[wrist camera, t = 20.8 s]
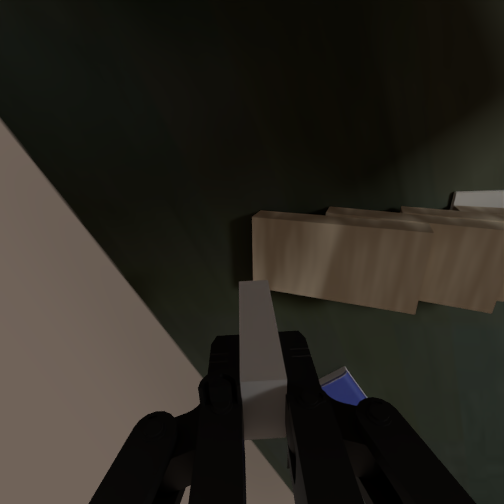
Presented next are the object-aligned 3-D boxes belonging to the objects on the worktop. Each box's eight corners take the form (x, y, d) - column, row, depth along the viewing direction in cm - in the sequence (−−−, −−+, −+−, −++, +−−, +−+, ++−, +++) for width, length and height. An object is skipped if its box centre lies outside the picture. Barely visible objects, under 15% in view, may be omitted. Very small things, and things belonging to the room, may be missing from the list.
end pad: (548, 188, 25) (552, 189, 24) (517, 274, 28) (520, 276, 27) (454, 191, 24) (456, 192, 24) (433, 278, 27) (435, 280, 27)
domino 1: (260, 210, 24) (428, 223, 20) (260, 276, 26) (411, 299, 23) (252, 216, 22) (434, 233, 18) (253, 287, 25) (415, 314, 21)
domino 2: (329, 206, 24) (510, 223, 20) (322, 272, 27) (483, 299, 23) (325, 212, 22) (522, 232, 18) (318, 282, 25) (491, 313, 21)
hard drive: (279, 408, 32) (333, 467, 36) (348, 373, 30) (395, 439, 34) (277, 396, 33) (329, 454, 37) (342, 362, 31) (389, 426, 36)
